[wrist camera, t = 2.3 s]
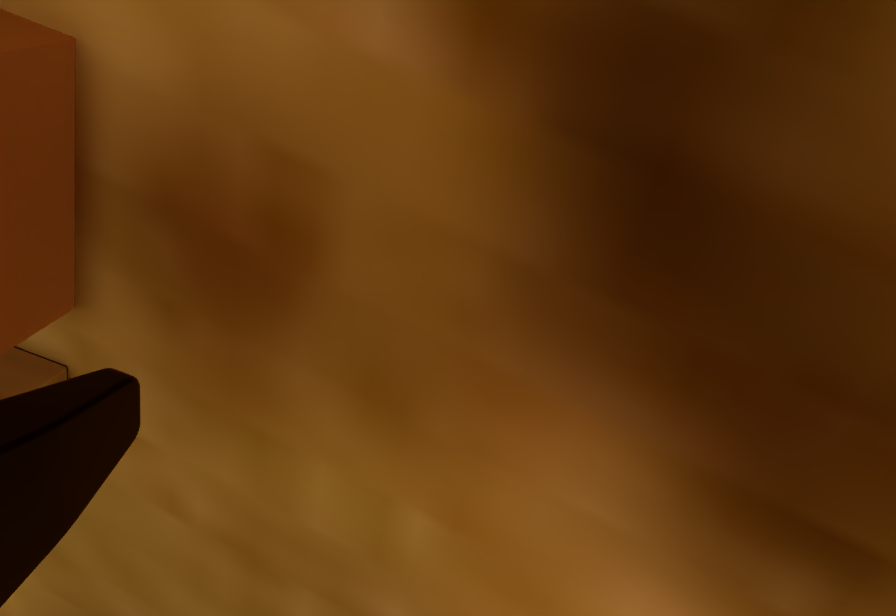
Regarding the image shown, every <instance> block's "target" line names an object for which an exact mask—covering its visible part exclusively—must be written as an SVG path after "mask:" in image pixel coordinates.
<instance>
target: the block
mask: <svg viewBox="0 0 896 616" xmlns="http://www.w3.org/2000/svg"><path fill="white" fill-rule="evenodd" d="M74 308H75V38H74V37H71V36H68V35H66V34H63V33H61V32H58V31H55V30H53V29H50V28H48V27H45V26H43V25H40V24H37V23H35V22H32V21H30V20H27V19H25V18H22V17H19V16H17V15H14V14H12V13H9V12H6V11H4V10H1V9H0V356H1V355H2V354H4V353H5V352H7V351H8V350H10V349H11V348H13V347H15V346H16V345H18V344H19V343H21V342H22V341H24V340H25V339H27V338H29V337H30V336H32V335H33V334H35V333H36V332H38V331H39V330H41V329H43V328H44V327H46V326H47V325H49V324H50V323H52V322H53V321H55V320H56V319H58V318H60V317H61V316H63V315H64V314H66V313H67V312H69V311H70V310H72V309H74Z"/></svg>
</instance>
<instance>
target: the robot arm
mask: <svg viewBox="0 0 896 616" xmlns="http://www.w3.org/2000/svg"><path fill="white" fill-rule="evenodd" d="M139 427H140V384H139V382H138V380H137V378H135V377H134V376H132V375H129V374H126V373H124V372H121V371H118V370H116V369H112V368H106V369H101V370H98V371H94V372H91V373H88V374H84V375H81V376H78V377H74V378H71V379H68V380H64V381H61V382H58V383H54V384H51V385H48V386H44V387H41V388H38V389H34V390H31V391H28V392H24V393H21V394H18V395H14V396H11V397H8V398H4V399H1V400H0V607H1V606H2V605H3V604H4V603H5V602H6V601H7V599H8V598H9V597H10V596H11V595H12V594H13V593H14V592H15V591H16V589H17V588H18V587H19V586H20V585H21V584H22V583H23V582H24V580H25V579H26V578H27V577H28V576H29V575H30V574H31V573H32V572H33V570H34V569H35V568H36V567H37V566H38V565H39V564H40V563H41V561H42V560H43V559H44V558H45V557H46V556H47V555H48V554H49V553H50V551H51V550H52V549H53V548H54V547H55V546H56V545H57V543H58V542H59V541H60V540H61V539H62V538H63V536H64V535H65V534H66V533H67V532H68V530H69V529H70V528H71V526H72V525H73V524H74V522H75V521H76V520H77V519H78V517H79V516H80V514H81V513H82V512H83V510H84V509H85V508H86V506H87V505H88V503H89V502H90V501H91V499H92V498H93V497H94V495H95V494H96V492H97V491H98V490H99V488H100V487H101V486H102V484H103V483H104V481H105V480H106V479H107V477H108V476H109V474H110V473H111V472H112V470H113V469H114V468H115V466H116V465H117V463H118V462H119V461H120V459H121V458H122V457H123V455H124V454H125V452H126V451H127V450H128V448H129V447H130V446H131V444H132V443H133V441H134V440H135V438H136V436H137V434H138V431H139Z"/></svg>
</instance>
